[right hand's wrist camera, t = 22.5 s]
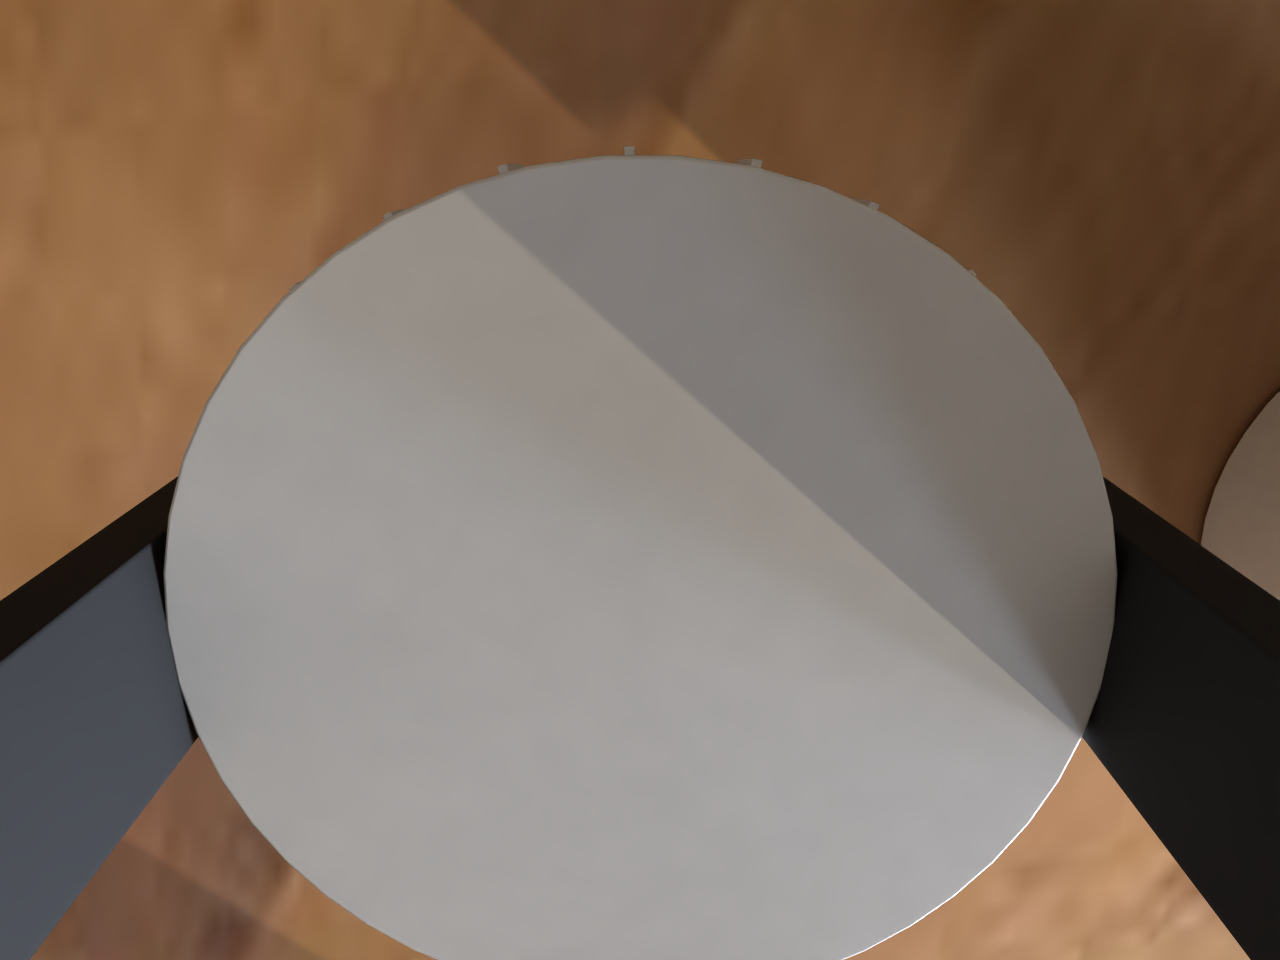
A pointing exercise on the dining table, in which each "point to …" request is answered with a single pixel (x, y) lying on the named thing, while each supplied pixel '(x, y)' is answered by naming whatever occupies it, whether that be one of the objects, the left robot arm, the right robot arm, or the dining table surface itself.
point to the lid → (640, 570)
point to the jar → (1250, 504)
